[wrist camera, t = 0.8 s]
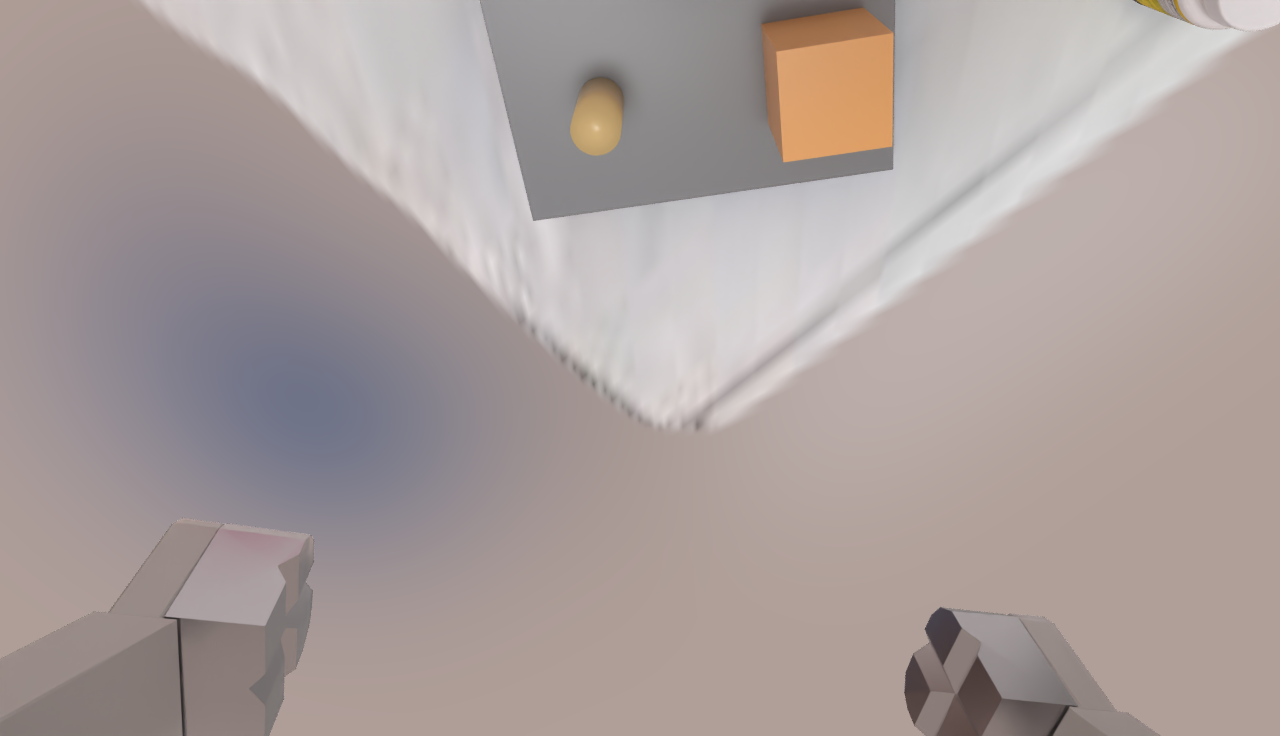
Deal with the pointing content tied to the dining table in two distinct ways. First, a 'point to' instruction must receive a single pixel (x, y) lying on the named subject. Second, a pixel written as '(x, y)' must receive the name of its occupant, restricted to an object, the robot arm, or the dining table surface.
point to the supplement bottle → (1221, 12)
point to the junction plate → (649, 99)
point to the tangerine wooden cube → (829, 84)
